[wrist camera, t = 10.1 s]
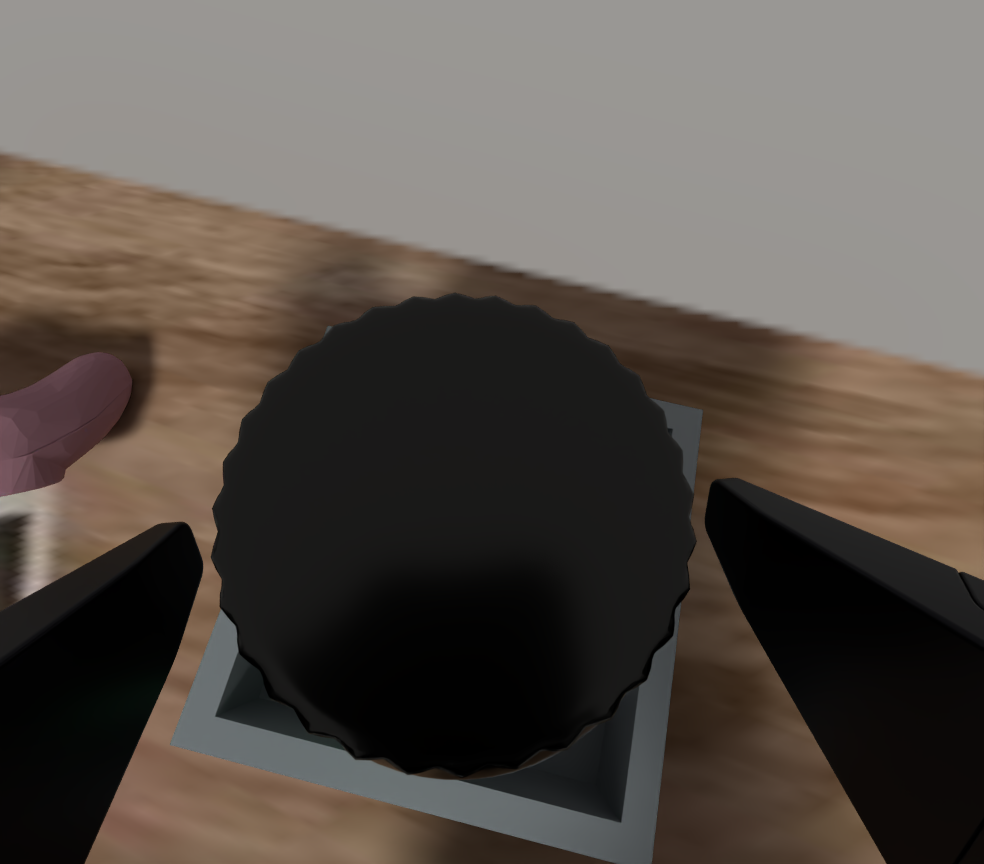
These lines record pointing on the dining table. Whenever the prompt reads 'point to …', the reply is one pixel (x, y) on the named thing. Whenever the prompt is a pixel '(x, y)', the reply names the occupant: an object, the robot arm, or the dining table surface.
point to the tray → (479, 802)
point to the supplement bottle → (453, 536)
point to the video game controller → (59, 420)
